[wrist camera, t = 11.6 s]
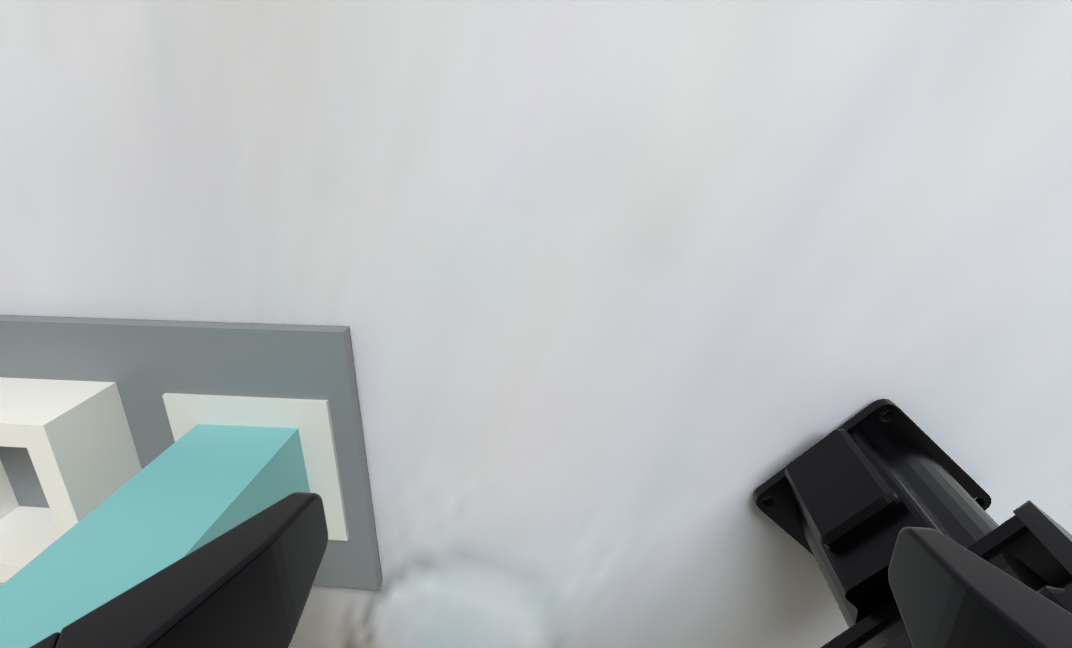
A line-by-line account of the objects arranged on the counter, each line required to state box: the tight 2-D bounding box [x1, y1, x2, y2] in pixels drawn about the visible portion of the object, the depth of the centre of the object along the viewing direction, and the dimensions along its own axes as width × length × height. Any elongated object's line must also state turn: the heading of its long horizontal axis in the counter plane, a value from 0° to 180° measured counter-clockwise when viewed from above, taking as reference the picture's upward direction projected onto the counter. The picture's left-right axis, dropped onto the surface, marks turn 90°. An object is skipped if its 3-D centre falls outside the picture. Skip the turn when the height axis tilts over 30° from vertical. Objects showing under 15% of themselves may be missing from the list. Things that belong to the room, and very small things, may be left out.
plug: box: [0, 424, 310, 648], centre depth 19 cm, size 4×4×13 cm
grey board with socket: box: [0, 315, 382, 590], centre depth 24 cm, size 19×13×4 cm
